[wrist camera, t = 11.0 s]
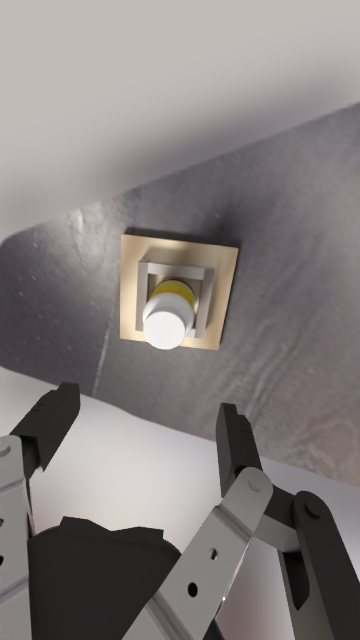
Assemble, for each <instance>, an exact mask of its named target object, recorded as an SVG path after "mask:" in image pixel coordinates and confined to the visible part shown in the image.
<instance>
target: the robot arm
mask: <svg viewBox="0 0 360 640" xmlns="http://www.w3.org/2000/svg"><path fill="white" fill-rule="evenodd" d="M79 410H80V392H79V384H78V383H71V382H63V383H62V384H61V385H60V386H59V387H58V389H57V390H51V391H49V392H48V393H46V394H45V395H43V396H42V397H41V398H40V399H39V401H38V402H37V403H36V405H34V406H33V407H32V409H31V410H30V411H29V412H28V413H27V414H26V415H25V417H24V418H23V419H22V420H21V421H20V422H19V423H18V425H17V426H16V427H15V428H14V429H13V430H12V432H11V433H10V434H9V435H7V436H3V437H0V640H225V639H224V637H223V635H222V633H221V631H220V629H219V627H218V625H217V623H216V618H217V615H218V613H219V611H220V609H221V607H222V605H223V603H224V601H225V598H226V596H227V594H228V592H229V590H230V587H231V585H232V583H233V581H234V579H235V576H236V574H237V572H238V570H239V567H240V566H241V564H242V561H243V559H244V557H245V555H246V553H247V551H248V549H249V546H250V544H251V542H252V540H253V538H254V537H256V538H258V539H260V540H262V541H264V542H266V543H267V544H269V545H271V546H273V547H275V548H277V551H278V556H279V561H280V566H281V571H282V576H283V581H284V586H285V591H286V596H287V601H288V606H289V611H290V616H291V621H292V626H293V631H294V636H295V640H360V582H359V580H358V578H357V575H356V573H355V570H354V568H353V565H352V563H351V560H350V558H349V555H348V553H347V550H346V548H345V546H344V543H343V541H342V538H341V536H340V533H339V531H338V529H337V526H336V524H335V521H334V519H333V516H332V514H331V512H330V510H329V508H328V507H327V505H326V504H325V503H324V502H323V501H322V500H321V499H320V498H319V497H318V496H316V495H315V494H313V493H311V492H308V491H300V492H298V493H297V494H296V495H293V494H290V493H288V492H286V491H284V490H282V489H280V488H278V487H276V486H275V485H274V484H272V483H271V481H270V479H269V478H268V476H267V475H266V474H265V473H264V472H263V469H262V466H261V462H260V458H259V455H258V451H257V447H256V443H255V441H254V436H253V434H252V428H251V425H250V423H249V421H248V420H247V418H246V417H245V416H244V415H238V414H237V409H236V405H235V404H229V403H221V405H220V410H219V414H218V418H217V423H216V443H217V453H218V464H219V475H220V485H221V497H222V498H223V500H222V501H221V503H220V504H219V505H218V506H215V507H214V508H213V510H212V511H211V512H210V514H209V516H208V517H207V518H206V520H205V521H204V523H203V524H202V526H201V527H200V529H199V531H198V532H197V533H196V535H195V536H194V538H193V539H192V541H191V542H190V544H189V545H188V547H187V548H186V550H185V551H184V552H183V554H181V553H180V552H179V550H178V549H177V548H176V547H175V546H174V545H172V544H171V543H170V542H168V541H166V540H164V539H163V531H164V530H161V529H153V528H146V527H133V528H128V529H122V530H117V531H110V530H108V529H105V528H104V527H102V526H100V525H98V524H96V523H94V522H92V521H90V520H88V519H80V518H73V517H66V516H64V517H63V519H62V521H61V523H60V525H59V526H55V527H51V528H48V529H46V530H44V531H42V532H40V533H38V534H36V532H35V525H34V518H33V508H32V496H31V486H30V478H31V476H32V475H33V473H34V472H40V473H43V472H44V471H45V469H46V467H47V465H48V464H49V462H50V460H51V459H52V457H53V456H54V454H55V452H56V451H57V449H58V447H59V446H60V444H61V442H62V441H63V439H64V437H65V436H66V434H67V432H68V431H69V429H70V427H71V426H72V424H73V422H74V421H75V419H76V417H77V416H78V413H79Z"/></svg>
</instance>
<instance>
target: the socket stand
mask: <svg viewBox="0 0 360 640" xmlns="http://www.w3.org/2000/svg"><path fill="white" fill-rule="evenodd" d="M237 254H238V248H236V247H227V246H219V245H211V244H203V243H195V242H186V241H178V240H170V239H162V238H153V237H145V236H137V235H129V234H121V294H120V338H121V339H130V340H138V341H146V342H148V341H147V339H146V338H145V335H144V331H143V326H144V323H143V310H144V308H145V305H146V304H147V302H148V300H149V298H150V297H151V295H152V293H153V292H154V290H155V288H156V287H157V286H158V285H159V284H160V283H161V282H162V281H164V280H167V279H171V278H177V279H181V280H183V281H185V282H186V283H188V284H189V285H190V287H191V288H192V290H193V292H194V295H195V308H194V323H193V326H192V329H191V331H190V332H189V333H188V334H187V335H186V336H185V337H184V339H183V341H182V342H181V343H180V344H179V346H187V347H195V348H203V349H211V350H218V347H219V342H220V338H221V333H222V328H223V323H224V318H225V313H226V308H227V303H228V298H229V293H230V288H231V283H232V279H233V274H234V269H235V264H236V259H237Z"/></svg>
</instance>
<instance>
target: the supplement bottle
mask: <svg viewBox="0 0 360 640" xmlns="http://www.w3.org/2000/svg"><path fill="white" fill-rule="evenodd" d="M194 308H195V295H194V292H193V290H192V288H191V287H190V285H189V284H188V283H186V282H185V281H183V280H181V279H177V278H171V279H167V280H164V281H162V282H161V283H160V284H159V285H158V286H157V287H156V288H155V290H154V292H153V293H152V295H151V297H150V298H149V300H148V302H147V304H146V305H145V308H144V310H143V323H144V326H143V331H144V335H145V338H146V339H147V341H148V342H149V343H150V344H151V345H153V346H155V347H157V348H160V349H171V348H174V347H176V346H178V345H179V344H180V343H181V342H182V341H183V339H184V337H185V336H186V335H187V334H188V333H189V332H190V331H191V329H192V326H193V323H194Z"/></svg>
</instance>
